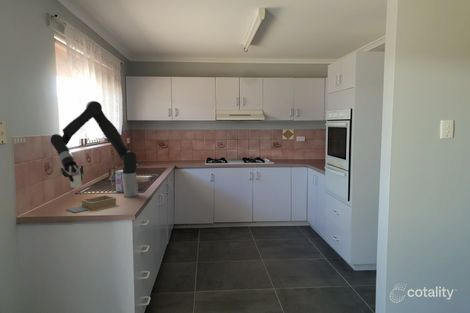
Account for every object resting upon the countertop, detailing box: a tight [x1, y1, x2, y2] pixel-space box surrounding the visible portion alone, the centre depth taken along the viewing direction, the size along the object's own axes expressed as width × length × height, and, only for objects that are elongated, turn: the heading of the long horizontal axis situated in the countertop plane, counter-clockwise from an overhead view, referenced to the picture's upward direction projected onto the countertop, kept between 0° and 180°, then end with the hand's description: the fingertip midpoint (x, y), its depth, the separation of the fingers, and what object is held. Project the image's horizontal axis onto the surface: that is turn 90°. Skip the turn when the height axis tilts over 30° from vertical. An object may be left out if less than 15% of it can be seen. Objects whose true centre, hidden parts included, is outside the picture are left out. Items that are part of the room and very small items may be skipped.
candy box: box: [114, 169, 124, 193], centre depth 266 cm, size 14×6×16 cm, turn 164°
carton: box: [79, 194, 120, 212], centre depth 219 cm, size 17×22×4 cm
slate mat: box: [66, 205, 90, 214], centre depth 208 cm, size 9×12×1 cm
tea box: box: [69, 173, 83, 189], centre depth 206 cm, size 5×5×8 cm
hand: (77, 180), depth 205 cm, fingers closed on tea box, 4 cm apart
